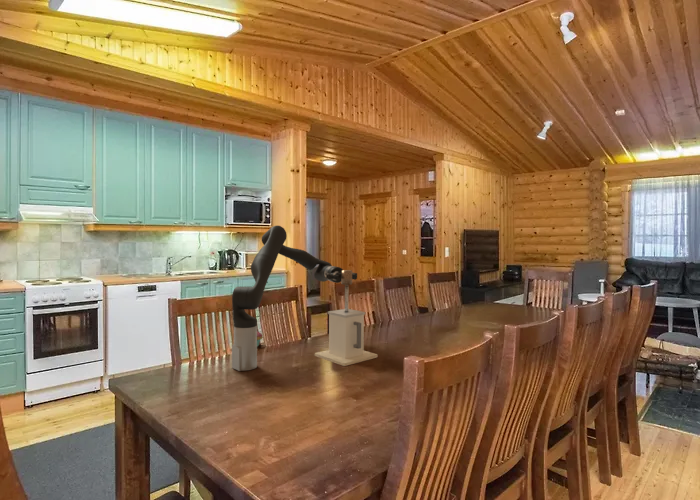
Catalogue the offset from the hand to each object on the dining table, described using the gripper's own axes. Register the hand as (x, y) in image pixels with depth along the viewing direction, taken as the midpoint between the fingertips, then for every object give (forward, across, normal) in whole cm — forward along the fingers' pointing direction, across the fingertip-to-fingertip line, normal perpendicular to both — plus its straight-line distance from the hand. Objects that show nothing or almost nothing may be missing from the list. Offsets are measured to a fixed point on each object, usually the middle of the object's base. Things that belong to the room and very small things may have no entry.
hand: (346, 277), depth 197 cm
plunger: (0, 0, +21) cm, 21 cm away
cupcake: (-33, -35, +36) cm, 60 cm away
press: (0, 0, +36) cm, 36 cm away
